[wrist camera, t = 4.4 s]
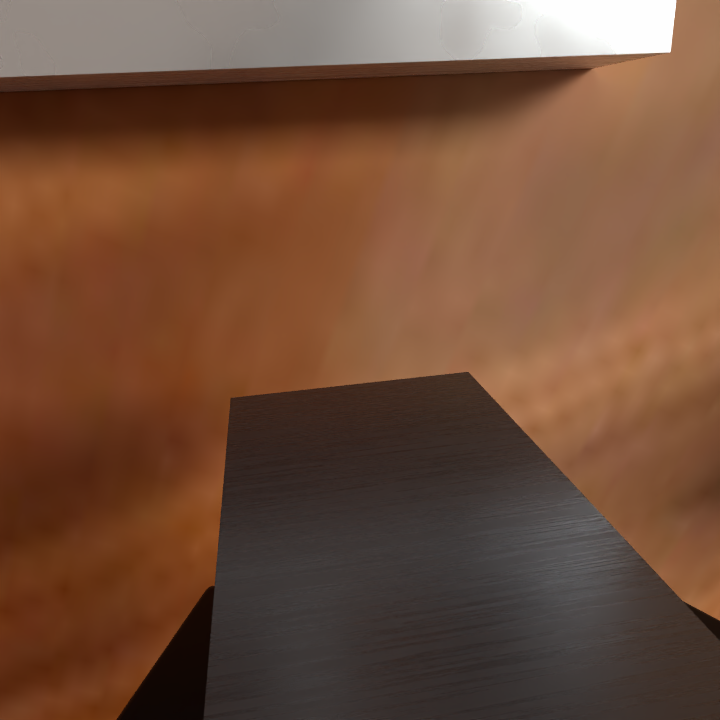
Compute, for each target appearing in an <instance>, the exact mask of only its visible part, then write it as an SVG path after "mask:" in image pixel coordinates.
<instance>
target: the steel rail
mask: <svg viewBox="0 0 720 720" xmlns="http://www.w3.org/2000/svg"><path fill="white" fill-rule="evenodd" d="M675 6H676V0H0V92H15V91H39V90H64V89H89V88H114V87H139V86H164V85H189V84H214V83H238V82H263V81H288V80H313V79H338V78H363V77H388V76H412V75H437V74H462V73H487V72H512V71H537V70H562V69H587V68H598V67H602V66H607V65H612V64H617V63H622V62H626V61H631V60H636V59H641V58H645V57H650V56H655V55H660V54H665V53H669V52H670V51H671V42H672V33H673V24H674V15H675Z"/></svg>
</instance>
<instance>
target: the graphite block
mask: <svg viewBox="0 0 720 720" xmlns="http://www.w3.org/2000/svg"><path fill="white" fill-rule="evenodd" d="M204 720H720V641H719V640H718V638H717V637H716V636H715V635H714V634H713V633H712V632H711V631H710V630H709V629H708V628H707V627H706V626H705V625H704V624H703V622H702V621H701V620H700V619H699V618H698V617H697V616H696V615H695V614H694V613H693V612H692V611H691V610H690V609H689V607H688V606H687V605H686V604H685V603H684V602H683V601H682V600H681V599H680V598H679V597H678V596H677V595H676V594H675V593H674V591H673V590H672V589H671V588H670V587H669V586H668V585H667V584H666V583H665V582H664V581H663V580H662V579H661V578H660V576H659V575H658V574H657V573H656V572H655V571H654V570H653V569H652V568H651V567H650V566H649V565H648V564H647V563H646V562H645V560H644V559H643V558H642V557H641V556H640V555H639V554H638V553H637V552H636V551H635V550H634V549H633V548H632V547H631V545H630V544H629V543H628V542H627V541H626V540H625V539H624V538H623V537H622V536H621V535H620V534H619V533H618V532H617V531H616V529H615V528H614V527H613V526H612V525H611V524H610V523H609V522H608V521H607V520H606V519H605V518H604V517H603V516H602V514H601V513H600V512H599V511H598V510H597V509H596V508H595V507H594V506H593V505H592V504H591V503H590V502H589V501H588V500H587V498H586V497H585V496H584V495H583V494H582V493H581V492H580V491H579V490H578V489H577V488H576V487H575V486H574V485H573V483H572V482H571V481H570V480H569V479H568V478H567V477H566V476H565V475H564V474H563V473H562V472H561V471H560V470H559V468H558V467H557V466H556V465H555V464H554V463H553V462H552V461H551V460H550V459H549V458H548V457H547V456H546V455H545V454H544V452H543V451H542V450H541V449H540V448H539V447H538V446H537V445H536V444H535V443H534V442H533V441H532V440H531V439H530V437H529V436H528V435H527V434H526V433H525V432H524V431H523V430H522V429H521V428H520V427H519V426H518V425H517V424H516V423H515V421H514V420H513V419H512V418H511V417H510V416H509V415H508V414H507V413H506V412H505V411H504V410H503V409H502V408H501V406H500V405H499V404H498V403H497V402H496V401H495V400H494V399H493V398H492V397H491V396H490V395H489V394H488V393H487V392H486V390H485V389H484V388H483V387H482V386H481V385H480V384H479V383H478V382H477V381H476V380H475V379H474V378H473V377H472V375H471V374H470V373H469V372H463V373H454V374H445V375H436V376H427V377H418V378H408V379H399V380H390V381H381V382H372V383H363V384H354V385H345V386H336V387H327V388H317V389H308V390H299V391H290V392H281V393H272V394H263V395H254V396H245V397H236V398H231V401H230V413H229V425H228V436H227V448H226V460H225V472H224V484H223V495H222V507H221V519H220V531H219V543H218V554H217V566H216V578H215V590H214V602H213V614H212V625H211V637H210V649H209V661H208V673H207V684H206V696H205V708H204Z"/></svg>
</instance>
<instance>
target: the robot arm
mask: <svg viewBox="0 0 720 720" xmlns="http://www.w3.org/2000/svg"><path fill="white" fill-rule="evenodd" d="M214 590H215V586H211V587H209V588H208V589H207V590H206V591H205V592H204V594H203V595H202V597H201V598H200V599H199V601H198V602H197V604H196V605H195V607H194V608H193V610H192V611H191V612H190V614H189V615H188V617H187V618H186V620H185V621H184V623H183V624H182V625H181V627H180V628H179V630H178V631H177V633H176V634H175V636H174V637H173V639H172V640H171V641H170V643H169V644H168V646H167V647H166V649H165V650H164V652H163V653H162V654H161V656H160V657H159V659H158V660H157V662H156V663H155V665H154V666H153V667H152V669H151V670H150V672H149V673H148V675H147V676H146V678H145V679H144V680H143V682H142V683H141V685H140V686H139V688H138V689H137V691H136V692H135V694H134V695H133V696H132V698H131V699H130V701H129V702H128V704H127V705H126V707H125V708H124V709H123V711H122V712H121V714H120V715H119V717H118V718H117V720H204V708H205V696H206V684H207V673H208V661H209V649H210V637H211V625H212V614H213V602H214ZM684 603H685V602H684ZM685 604H686V605H687V606H688V607H689V609H690V610H691V611H692V612H693V613H694V614H695V615H696V616H697V617H698V618H699V619H700V620H701V621H702V622H703V624H704V625H705V626H706V627H707V628H708V629H709V630H710V631H711V632H712V633H713V634H714V635H715V636H716V637H717V638H718V640H719V641H720V621H719V620H717V619H715V618H714V617H712V616H710V615H708V614H706V613H704V612H702V611H700V610H698V609H697V608H695V607H693V606H691V605H689V604H687V603H685Z"/></svg>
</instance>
